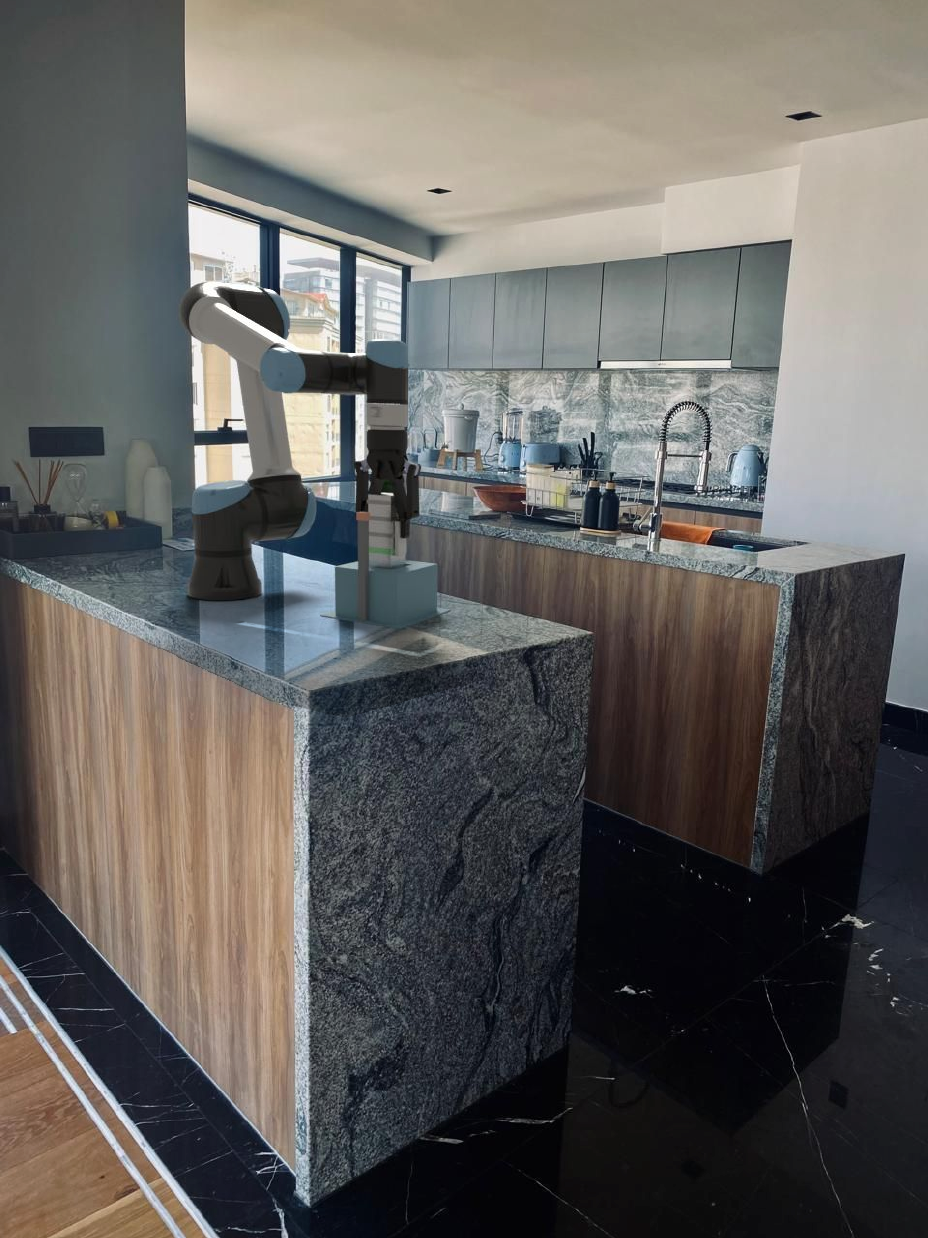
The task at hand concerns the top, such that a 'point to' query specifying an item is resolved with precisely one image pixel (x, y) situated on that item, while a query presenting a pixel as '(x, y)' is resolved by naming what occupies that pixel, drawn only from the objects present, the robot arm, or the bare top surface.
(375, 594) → the stand base
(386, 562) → the column
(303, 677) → the top surface
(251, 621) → the top surface
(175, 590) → the top surface
